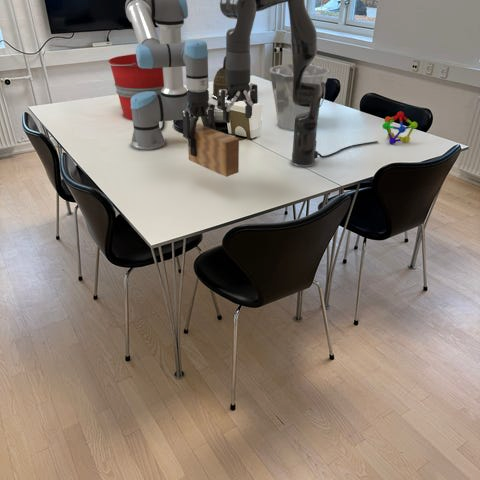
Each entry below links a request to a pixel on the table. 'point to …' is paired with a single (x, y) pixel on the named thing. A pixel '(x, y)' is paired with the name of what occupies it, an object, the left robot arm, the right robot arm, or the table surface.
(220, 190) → the table surface
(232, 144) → the box
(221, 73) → the bell
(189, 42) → the left robot arm
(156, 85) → the bucket
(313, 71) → the bucket
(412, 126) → the educational toy
